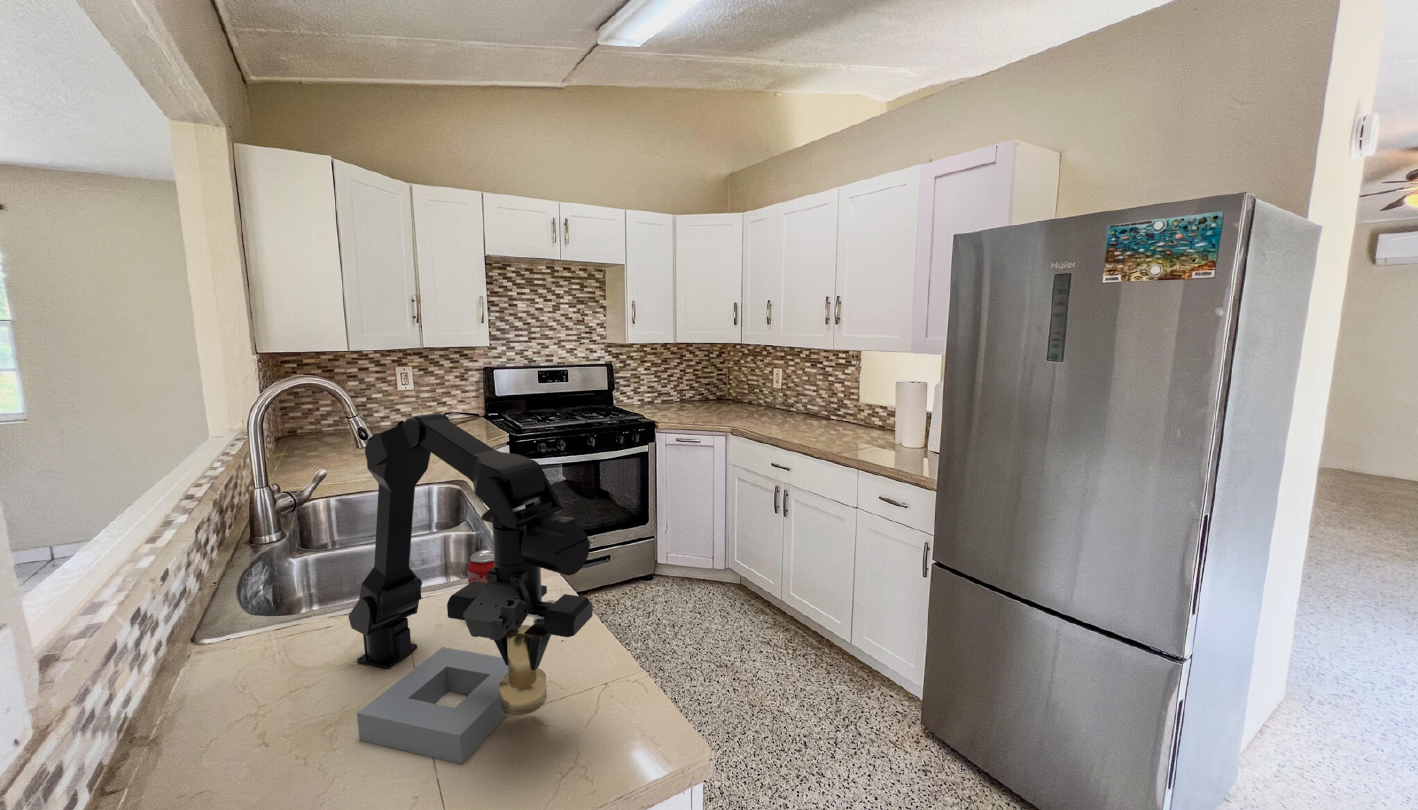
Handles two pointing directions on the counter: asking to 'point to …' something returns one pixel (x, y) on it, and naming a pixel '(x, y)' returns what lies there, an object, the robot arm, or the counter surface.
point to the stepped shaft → (521, 677)
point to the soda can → (480, 565)
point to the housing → (438, 707)
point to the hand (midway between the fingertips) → (522, 666)
